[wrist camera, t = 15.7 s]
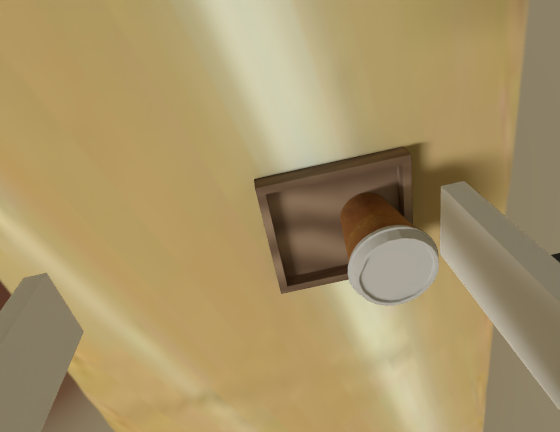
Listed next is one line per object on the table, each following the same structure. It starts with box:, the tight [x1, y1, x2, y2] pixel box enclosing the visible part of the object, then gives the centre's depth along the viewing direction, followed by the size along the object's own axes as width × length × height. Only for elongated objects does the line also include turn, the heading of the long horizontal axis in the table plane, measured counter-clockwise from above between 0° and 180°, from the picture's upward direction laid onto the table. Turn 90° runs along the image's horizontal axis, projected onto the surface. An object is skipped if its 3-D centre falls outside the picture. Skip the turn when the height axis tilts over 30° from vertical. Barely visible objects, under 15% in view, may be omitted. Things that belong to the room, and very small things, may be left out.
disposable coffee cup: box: [340, 193, 439, 306], centre depth 46 cm, size 10×10×12 cm
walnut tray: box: [254, 147, 413, 294], centre depth 51 cm, size 16×18×2 cm
